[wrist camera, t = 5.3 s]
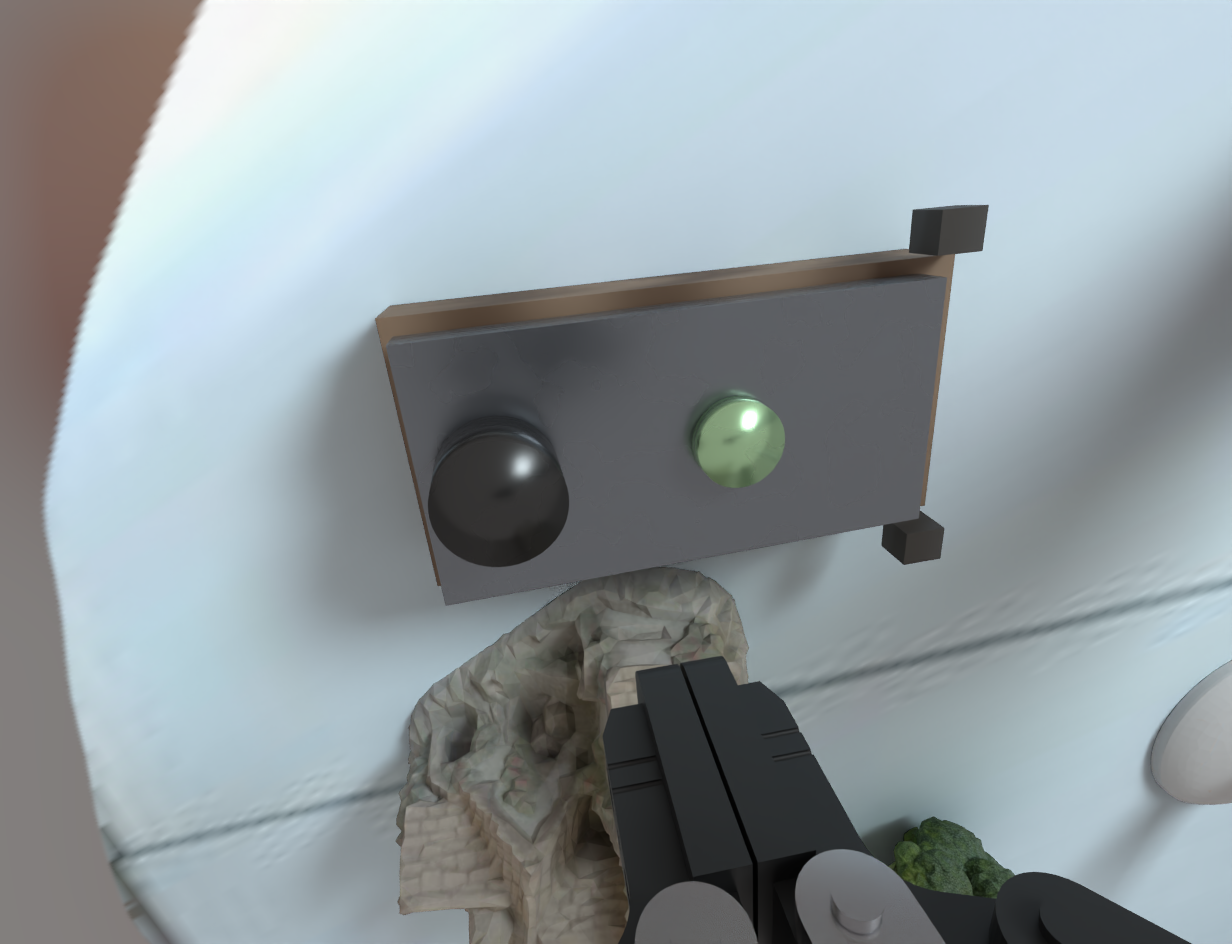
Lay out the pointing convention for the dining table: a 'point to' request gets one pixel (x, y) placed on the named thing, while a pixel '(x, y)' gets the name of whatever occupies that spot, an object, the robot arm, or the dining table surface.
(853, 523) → the plate
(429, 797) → the miniature castle
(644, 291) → the brown boxy piece
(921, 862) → the vegetable
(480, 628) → the dining table surface
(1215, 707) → the candlestick
